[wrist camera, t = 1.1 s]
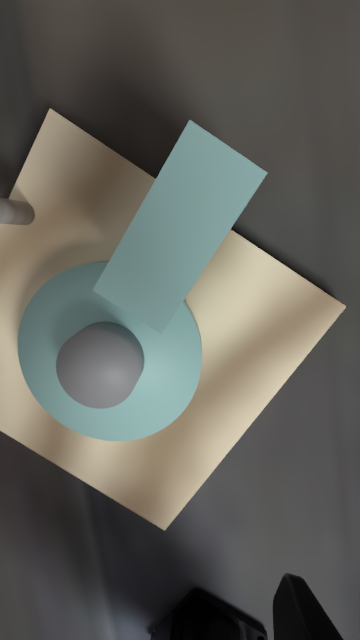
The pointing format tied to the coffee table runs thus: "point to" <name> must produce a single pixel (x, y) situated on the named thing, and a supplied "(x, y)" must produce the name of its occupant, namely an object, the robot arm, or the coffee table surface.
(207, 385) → the post board
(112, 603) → the coffee table surface
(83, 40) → the coffee table surface
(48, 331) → the flange
